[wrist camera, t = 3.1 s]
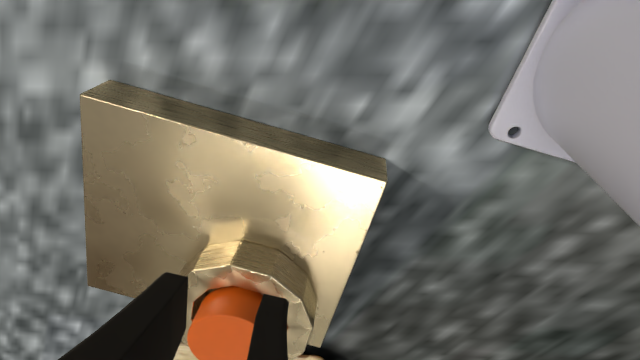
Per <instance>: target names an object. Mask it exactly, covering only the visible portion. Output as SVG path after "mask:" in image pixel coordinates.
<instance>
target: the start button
mask: <svg viewBox="0 0 640 360" xmlns="http://www.w3.org/2000/svg"><path fill="white" fill-rule="evenodd" d="M262 297H263V295H262V294H260V293H258V292H254V291H251V290H247V289H243V288H240V287H235V286H230V287H222V288H219V289H216V290H214V291H212V292H210V293H209V294H208V295H207V296H206V297H205V298H204V299H203V301H202V303H201V305H200V307H199V309H198V311H197V313H196V315H195V317H194V319H193V321H192V323H191V326H190V328H189V330H188V333H187V342H188V345H189V348H190V350H191V351H192V353H193V354H194V356H195V357H196V358H197V359H198V360H247V357H248V352H249V347H250V342H251V337H252V332H253V327H254V322H255V317H256V314H257V311H258V308H259V305H260V302H261V300H262Z"/></svg>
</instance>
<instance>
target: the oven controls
mask: <svg viewBox="0 0 640 360" xmlns="http://www.w3.org/2000/svg"><path fill="white" fill-rule="evenodd" d="M80 109H81V133H82V158H83V182H84V207H85V231H86V256H87V280H88V286H91V287H95V288H99V289H102V290H106V291H110V292H114V293H117V294H121V295H125V296H129V297H132V298H136V297H137V296H139V295H140V294H141V293H142V292H143V291H144V290H145V289H146V288H148V287H149V286H150V285H151V284H152V283H153V282H154V281H155V280H156V279H157V278H159V277H160V276H161V275H162V274H163V273H165V272H169V273H173V274H178V275H182V276H186V277H188V296H187V319H186V330H185V332H184V335H183V337H182V342H183V343H184V344H185V345H187V346H188V347H189V345H188V342H187V333H188V330H189V328H190V326H191V323H192V321H193V319H194V317H195V315H196V313H197V311H198V309H199V307H200V305H201V303H202V301H203V299H204V298H205V297H206V296H207V295H208V294H209V293H210V292H212V291H214V290H216V289H219V288H222V287H230V286H235V287H240V288H243V289H247V290H251V291H254V292H258V293H260V294H262V295H263V294H267V295H272V296H276V297H281V298H285V299H287V301H288V302H289V306H288V315H287V350H288V360H293V359H295V358H296V357H298V356H300V355H301V354H303V352H304V351H305V349H306V347H307V344H308V345H312V346H316V347H321V345H322V342H323V340H324V337H325V335H326V333H327V330H328V328H329V325H330V323H331V320H332V318H333V315H334V313H335V310H336V308H337V306H338V303H339V301H340V298H341V296H342V293H343V291H344V288H345V286H346V283H347V281H348V279H349V276H350V274H351V271H352V269H353V266H354V264H355V261H356V259H357V256H358V254H359V252H360V249H361V247H362V244H363V242H364V239H365V237H366V234H367V232H368V229H369V227H370V225H371V222H372V220H373V217H374V215H375V212H376V210H377V207H378V205H379V202H380V200H381V197H382V195H383V193H384V190H385V188H386V185H387V183H388V181H387V169H386V159H384V158H380V157H377V156H373V155H370V154H366V153H363V152H359V151H356V150H352V149H349V148H346V147H342V146H339V145H335V144H332V143H328V142H325V141H321V140H318V139H314V138H311V137H307V136H304V135H300V134H297V133H293V132H290V131H286V130H283V129H279V128H276V127H272V126H269V125H265V124H262V123H259V122H255V121H252V120H248V119H245V118H241V117H238V116H234V115H231V114H227V113H224V112H220V111H217V110H213V109H210V108H206V107H203V106H199V105H196V104H192V103H189V102H185V101H182V100H178V99H175V98H171V97H168V96H165V95H161V94H158V93H154V92H151V91H147V90H144V89H140V88H137V87H133V86H130V85H126V84H123V83H119V82H116V81H112V80H108V81H106V82H104V83H102V84H100V85H98V86H96V87H94V88H92V89H90V90H88V91H85V92H83V93H81V94H80Z"/></svg>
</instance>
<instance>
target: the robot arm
mask: <svg viewBox="0 0 640 360" xmlns="http://www.w3.org/2000/svg"><path fill="white" fill-rule="evenodd" d="M513 127H518V131H517V132H516V133H515V134H513V135H508V131H509V130H510V129H511V128H513ZM488 128H489V132H490V134H491V135H492V136H493V138H495V139H497V140H500V141H504V142H507V143H511V144H514V145H518V146H521V147H524V148H528V149H531V150H535V151H538V152H542V153H545V154H548V155H552V156H555V157H559V158H562V159H566V160H569V161H572V162H576V163H577V164H578V165H579V166H580V167H581V168H582V169H583V170H584V171H585V172H586V173H587V174H588V175H589V176H590V177H591V178H592V179H593V180H594V181H595V182H596V183H597V184H598V185H599V186H600V187H601V188H602V189H603V190H604V191H605V192H606V193H607V194H608V195H609V196H610V197H611V198H612V199H613V200H614V201H615V202H616V203H617V204H618V205H619V206H620V207H621V208H622V209H623V210H624V211H625V212H626V213H627V214H628V215H629V216H630V217H631V218H632V219H633V220H634V221H635V222H636V223H637V224H638V225H639V226H640V0H552V2H551V4H550V6H549V8H548V10H547V12H546V14H545V16H544V18H543V20H542V22H541V24H540V25H539V27H538V29H537V31H536V33H535V35H534V37H533V39H532V41H531V43H530V45H529V47H528V49H527V51H526V53H525V55H524V57H523V59H522V61H521V63H520V65H519V66H518V68H517V70H516V72H515V74H514V76H513V78H512V80H511V82H510V84H509V86H508V88H507V90H506V92H505V94H504V96H503V98H502V100H501V102H500V104H499V105H498V107H497V109H496V111H495V113H494V115H493V117H492V119H491V121H490V123H489V127H488ZM187 296H188V277H186V276H182V275H178V274H173V273H169V272H165V273H163V274H162V275H161V276H160V277H159V278H157V279H156V280H155V281H154V282H153V283H152V284H151V285H150V286H149V287H148V288H146V289H145V290H144V291H143V292H142V293H141V294H140V295H139V296H137V297H136V298H135V299H134V300H133V301H132V302H130V303H129V304H128V305H127V306H126V307H125V308H123V309H122V310H121V311H120V312H119V313H117V314H116V315H115V316H114V317H113V318H111V319H110V320H109V321H108V322H106V323H105V324H104V325H103V326H102V327H100V328H99V329H98V330H97V331H95V332H94V333H93V334H91V335H90V336H89V337H88V338H86V339H85V340H84V341H82V342H81V343H80V344H78V345H77V346H76V347H74V348H73V349H72V350H70V351H69V352H68V353H66V354H65V355H64V356H62V357H61V358H60V359H58V360H173V359H174V357H175V354H176V352H177V350H178V347H179V345H180V342H181V340H182V337H183V335H184V332H185V330H186V319H187ZM288 306H289V302H288V301H287V299H285V298H281V297H276V296H272V295H267V294H263V297H262V300H261V302H260V305H259V308H258V311H257V314H256V317H255V322H254V327H253V332H252V337H251V342H250V347H249V352H248V357H247V360H288V350H287V315H288Z"/></svg>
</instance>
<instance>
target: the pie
mask: <svg viewBox="0 0 640 360" xmlns="http://www.w3.org/2000/svg"><path fill="white" fill-rule="evenodd" d="M173 360H198V359H197V358H196V357H195V356H194V354H193V353H192V351H191V350H190V348H189V347H188V346H187V345H185V344H184V343H183V342H180V345H179V347H178V350H177V352H176V354H175V357H174V359H173ZM293 360H325V359H323V358H322V357H320V356H318V355H300V356H298V357H296V358H295V359H293Z"/></svg>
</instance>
